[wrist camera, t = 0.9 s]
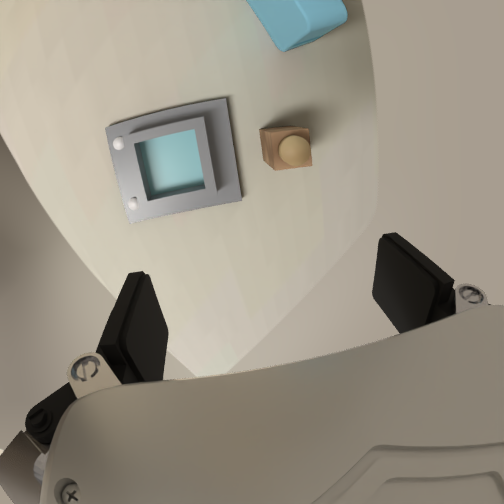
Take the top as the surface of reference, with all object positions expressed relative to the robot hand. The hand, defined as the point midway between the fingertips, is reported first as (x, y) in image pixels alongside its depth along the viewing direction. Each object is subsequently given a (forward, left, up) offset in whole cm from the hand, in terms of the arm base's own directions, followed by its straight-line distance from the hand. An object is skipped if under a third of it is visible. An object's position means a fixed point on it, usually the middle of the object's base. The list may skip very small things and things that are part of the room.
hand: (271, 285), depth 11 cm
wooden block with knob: (-2, +6, -26) cm, 27 cm away
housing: (-2, -7, -26) cm, 27 cm away
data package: (-20, +8, -27) cm, 34 cm away
